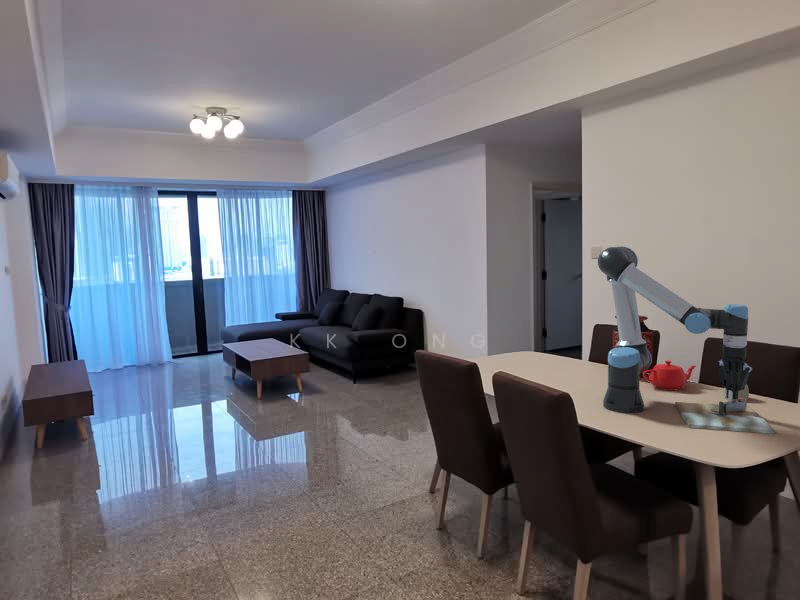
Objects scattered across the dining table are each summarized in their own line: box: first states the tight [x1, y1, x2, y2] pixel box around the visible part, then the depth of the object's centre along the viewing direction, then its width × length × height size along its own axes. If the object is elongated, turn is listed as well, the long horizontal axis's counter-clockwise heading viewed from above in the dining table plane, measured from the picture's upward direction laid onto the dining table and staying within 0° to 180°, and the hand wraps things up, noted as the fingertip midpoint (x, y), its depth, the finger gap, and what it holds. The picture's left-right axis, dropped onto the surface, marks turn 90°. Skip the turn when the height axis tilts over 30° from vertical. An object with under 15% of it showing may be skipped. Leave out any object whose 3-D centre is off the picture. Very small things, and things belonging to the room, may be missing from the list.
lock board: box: [675, 401, 776, 434], centre depth 194 cm, size 26×28×6 cm
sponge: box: [722, 383, 750, 401], centre depth 218 cm, size 9×10×10 cm
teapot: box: [642, 360, 697, 391], centre depth 238 cm, size 25×16×12 cm, turn 93°
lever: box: [723, 398, 748, 414], centre depth 196 cm, size 3×11×4 cm, turn 112°
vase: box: [612, 314, 654, 378], centre depth 260 cm, size 14×14×30 cm
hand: (731, 406), depth 199 cm, fingers closed
